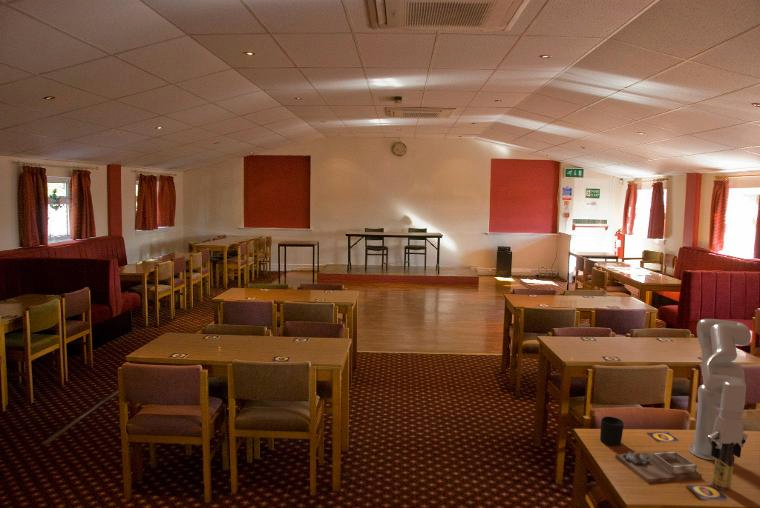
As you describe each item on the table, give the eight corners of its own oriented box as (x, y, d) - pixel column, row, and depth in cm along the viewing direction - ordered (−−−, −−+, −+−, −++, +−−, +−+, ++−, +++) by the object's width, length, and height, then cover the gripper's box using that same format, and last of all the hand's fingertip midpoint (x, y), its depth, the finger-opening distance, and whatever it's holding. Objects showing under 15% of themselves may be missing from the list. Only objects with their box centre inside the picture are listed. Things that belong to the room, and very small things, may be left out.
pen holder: (626, 445, 249) (628, 424, 248) (609, 447, 246) (611, 426, 244) (611, 436, 258) (613, 415, 256) (594, 438, 255) (596, 417, 253)
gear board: (665, 454, 242) (666, 444, 242) (701, 478, 223) (702, 467, 222) (615, 457, 236) (616, 447, 236) (647, 482, 217) (648, 471, 217)
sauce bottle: (707, 482, 220) (714, 435, 217) (722, 482, 220) (729, 435, 218) (719, 492, 213) (725, 442, 211) (734, 492, 214) (741, 443, 211)
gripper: (741, 409, 218) (735, 451, 220) (704, 410, 214) (699, 453, 216) (758, 416, 211) (752, 459, 213) (720, 418, 207) (714, 462, 209)
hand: (725, 456), depth 214 cm, fingers open, 9 cm apart
